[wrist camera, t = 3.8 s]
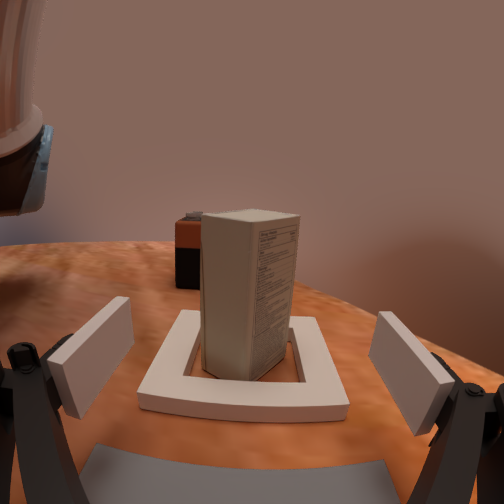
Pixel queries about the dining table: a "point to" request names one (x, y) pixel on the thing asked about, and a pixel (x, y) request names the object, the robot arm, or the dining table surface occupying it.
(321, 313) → the dining table surface
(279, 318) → the skincare box
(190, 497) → the grey mat
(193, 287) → the battery
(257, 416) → the white square frame
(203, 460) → the dining table surface
